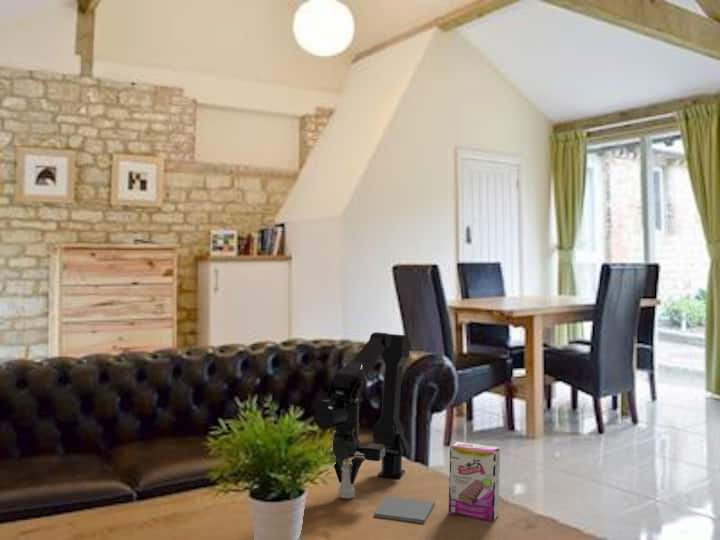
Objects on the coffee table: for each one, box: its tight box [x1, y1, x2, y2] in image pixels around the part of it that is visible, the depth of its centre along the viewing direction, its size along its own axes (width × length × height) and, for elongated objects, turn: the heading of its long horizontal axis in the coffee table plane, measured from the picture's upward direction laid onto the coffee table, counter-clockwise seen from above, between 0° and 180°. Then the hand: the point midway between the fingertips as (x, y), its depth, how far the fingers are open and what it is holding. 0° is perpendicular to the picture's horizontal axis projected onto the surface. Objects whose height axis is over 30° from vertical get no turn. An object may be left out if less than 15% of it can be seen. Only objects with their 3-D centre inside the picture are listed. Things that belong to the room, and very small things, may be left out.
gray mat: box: [373, 495, 435, 524], centre depth 151 cm, size 12×12×1 cm
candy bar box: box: [448, 440, 501, 522], centre depth 149 cm, size 11×5×16 cm, turn 65°
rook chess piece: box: [337, 462, 356, 499], centre depth 159 cm, size 4×4×8 cm
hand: (346, 483), depth 159 cm, fingers closed on rook chess piece, 3 cm apart
